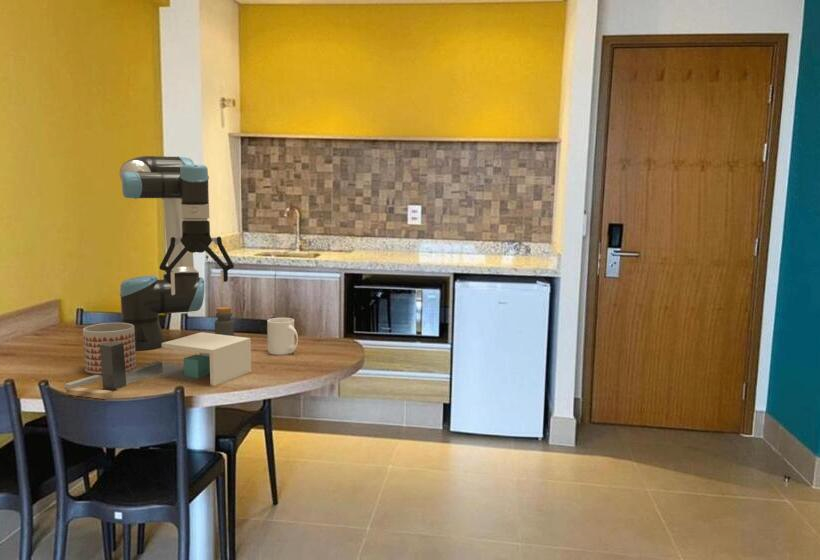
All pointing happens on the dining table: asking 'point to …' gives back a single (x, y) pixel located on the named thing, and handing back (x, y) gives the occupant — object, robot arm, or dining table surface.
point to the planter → (106, 334)
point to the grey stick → (83, 381)
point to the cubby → (218, 353)
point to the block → (197, 366)
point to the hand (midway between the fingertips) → (198, 293)
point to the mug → (281, 336)
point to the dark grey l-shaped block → (122, 367)
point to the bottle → (224, 321)
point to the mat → (176, 372)
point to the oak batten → (89, 392)
